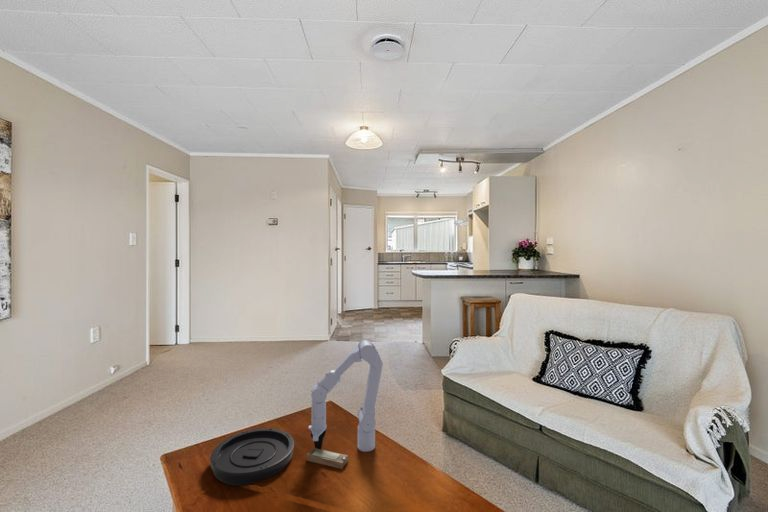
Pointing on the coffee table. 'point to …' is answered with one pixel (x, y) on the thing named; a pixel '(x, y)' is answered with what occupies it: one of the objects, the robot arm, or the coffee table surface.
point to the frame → (327, 458)
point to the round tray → (251, 456)
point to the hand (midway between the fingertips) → (318, 449)
